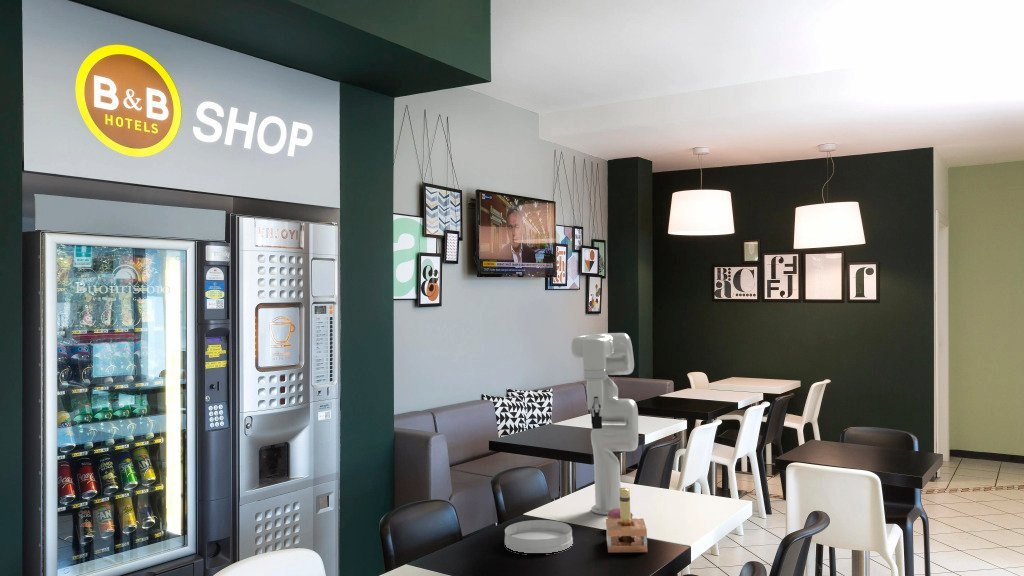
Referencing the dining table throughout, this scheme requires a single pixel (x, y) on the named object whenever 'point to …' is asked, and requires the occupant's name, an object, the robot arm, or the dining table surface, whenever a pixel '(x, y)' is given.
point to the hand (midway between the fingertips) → (596, 426)
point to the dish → (538, 536)
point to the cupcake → (615, 514)
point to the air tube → (625, 511)
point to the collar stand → (635, 531)
